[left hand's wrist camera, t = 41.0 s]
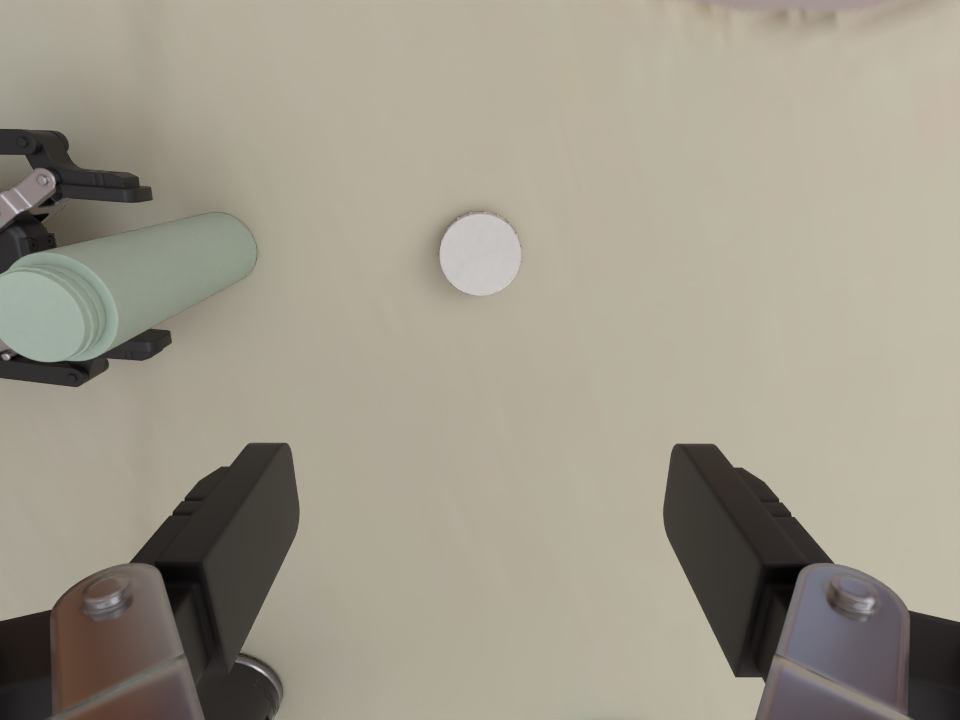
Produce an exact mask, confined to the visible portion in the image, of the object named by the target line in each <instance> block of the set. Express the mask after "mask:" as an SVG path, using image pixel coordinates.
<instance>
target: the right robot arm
mask: <svg viewBox="0 0 960 720" xmlns="http://www.w3.org/2000/svg"><path fill="white" fill-rule="evenodd" d="M68 148H69V144H68V140H67V139H66V137H65V136H64V135H63V134H62V133H60V132H58V131H42V130H22V129H0V154H4V155H26V157H27V159H28V161H29V163H30V164H31V166H32V168H33V171H32V172H31V173H30V174H29V175H27V176H26V177H25V178H24V179H23V180H22V181H20V182H19V183H18V184H17V185H16V186H14V187H13V188H11V189H9V190H6V191H3V192H1V193H0V274H2V273H4V272H5V271H7V270H9V268H10V267H11V266H12V265H13V264H14V263H15V262H16V261H17V260H19V259H20V258H22V257H24V256H26V255H29V254H33V253H37V252H41V251H46V250H50V249H54V248H56V242H55V237H54V233H48V231H47V229H46V228H45V227H44V225H43V224H44V223H45V222H47V221H48V220H49V219H50V218H52V217H53V216H54V215H55V214H56V213H58V212H59V211H60V210H61V209H63V208H64V206H65V205H64V203H65V202H66V201H67V200H68V199H70V198H74V199H87V200H100V201H113V202H126V203H136V202H143V201H150V200H153V198H152V191H151V187H148V186H140V185H139V178H138V177H137V176H135V175H133V174H131V173H127V172H115V171H102V170H89V169H82V168H80V167H78V166H76V165H75V164H74V163H73V162H72V161H71V159H70V157H69V155H68V153H67V151H68ZM171 343H172V341H171V333H170V331H168V330H157V329H148V330H146V331H144V332H142V333H141V334H139V335H137V336H135V337H133V338H131V339H129V340H128V341H126V342H124V343H122V344H120V345H118V346H116V347H114V348H113V349H111V350H109V351H107V352H105V353H103V354H101V355H100V356H98V357H95V358H93V359H89V360H85V361H67V360H64V361H58V362H41V361H36V360H32V359H29V358H27V357H24V356H22V355H20V354H19V353H17V352H15V351H14V350H12V349H11V348H10V347H8V346H7V345H6V344H5V343H4V342H3V341H2V340H1V339H0V378H5V379H13V380H22V381H30V382H38V383H47V384H55V385H63V386H71V387H78V386H80V385H82V384H84V383H85V382H87V381H89V380H91V379H92V378H94V377H96V376H97V375H99V374H101V373H102V372H104V371H106V370H107V369H108V367H109V363H108V360H107V359H106V358H111V359H126V360H140V361H143V360H146V359H149V358H151V357H153V356H154V355H156V354H157V353H159V352H160V351H162V350H163V348H165V347H166V346H168V345H169V344H171Z"/></svg>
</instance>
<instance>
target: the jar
mask: <svg viewBox="0 0 960 720" xmlns="http://www.w3.org/2000/svg"><path fill="white" fill-rule="evenodd" d="M256 258H257V249H256V244H255V241H254V238H253V236H252V234H251V233H250V231H249V230H248V228H247V227H246V226H245V225H244V224H243V223H242V222H241V221H239V220H238V219H236V218H234V217H233V216H230V215H228V214H224V213H219V212H213V213H207V214H203V215H198V216H194V217H190V218H185V219H181V220H176V221H172V222H168V223H163V224H159V225H155V226H150V227H146V228H142V229H137V230H133V231H128V232H124V233H120V234H115V235H111V236H107V237H102V238H98V239H94V240H89V241H85V242H80V243H76V244H72V245H67V246H63V247H59V248H54V249H50V250H46V251H41V252H37V253H33V254H29V255H26V256H24V257H22V258H20V259H19V260H17V261H16V262H15V263H14V264H13V265H12V266H11V267H10V268H9V270H7V271H5V272H4V273H2V274H0V339H1V340H2V341H3V342H4V343H5V344H6V345H7V346H8V347H10V348H11V349H12V350H14V351H15V352H17V353H19V354H20V355H22V356H24V357H27V358H29V359H32V360H36V361H41V362H58V361H64V360H67V361H85V360H89V359H93V358H95V357H98V356H100V355H101V354H103V353H105V352H107V351H109V350H111V349H113V348H114V347H116V346H118V345H120V344H122V343H124V342H126V341H128V340H129V339H131V338H133V337H135V336H137V335H139V334H141V333H142V332H144V331H146V330H148V329H150V328H152V327H154V326H155V325H157V324H159V323H161V322H163V321H165V320H167V319H168V318H170V317H172V316H174V315H176V314H178V313H180V312H181V311H183V310H185V309H187V308H189V307H191V306H193V305H194V304H196V303H198V302H200V301H202V300H204V299H206V298H207V297H209V296H211V295H213V294H215V293H217V292H219V291H221V290H222V289H224V288H226V287H228V286H230V285H232V284H234V283H235V282H237V281H239V280H241V279H243V278H244V277H246V276H247V275H248V274H249V273H250V272H251V271H252V269H253V267H254V265H255V262H256Z"/></svg>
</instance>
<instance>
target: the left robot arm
mask: <svg viewBox="0 0 960 720" xmlns="http://www.w3.org/2000/svg"><path fill="white" fill-rule="evenodd" d="M663 518H664V526H665V531H666V534H667V537H668V539H669V541H670V543H671V545H672V547H673V550H674V552H675V554H676V556H677V558H678V560H679V562H680V564H681V566H682V568H683V570H684V572H685V574H686V576H687V578H688V580H689V583H690V585H691V587H692V589H693V591H694V593H695V595H696V597H697V599H698V601H699V603H700V605H701V607H702V609H703V611H704V613H705V615H706V618H707V620H708V622H709V624H710V626H711V628H712V630H713V632H714V634H715V636H716V638H717V640H718V642H719V644H720V646H721V648H722V650H723V653H724V655H725V657H726V659H727V661H728V663H729V665H730V667H731V669H732V671H733V673H734V675H735V677H762V678H763V680H764V682H765V688H764V691H763V694H762V698H761V701H760V705H759V708H758V711H757V715H756V718H755V720H960V622H956V621H952V620H948V619H943V618H939V617H934V616H930V615H926V614H921V613H917V612H913V611H909V610H908V609H907V607H906V605H905V604H904V602H903V601H902V600H901V599H900V597H899V596H898V595H897V594H896V593H895V592H894V591H892V590H891V589H890V588H889V587H887V586H886V585H885V584H883V583H882V582H880V581H879V580H877V579H875V578H874V577H872V576H870V575H868V574H866V573H864V572H861V571H859V570H856V569H853V568H850V567H847V566H843V565H839V564H834V563H833V561H832V560H831V559H830V558H829V557H828V556H827V554H826V553H825V552H824V551H823V550H822V549H821V547H820V546H819V545H818V544H817V543H816V542H815V540H814V539H813V538H812V537H811V536H810V535H809V533H808V532H807V531H806V530H805V529H804V528H803V526H802V525H801V524H800V523H799V522H798V521H797V519H796V518H795V517H792V516H791V513H790V511H789V510H788V509H787V508H786V507H785V506H784V504H783V503H779V499H778V497H777V496H776V495H775V494H774V493H773V492H772V490H771V489H770V488H769V487H768V486H767V485H766V483H765V482H763V481H762V480H760V479H759V478H757V477H756V476H754V475H752V474H751V473H749V472H748V471H746V470H745V469H743V468H734V467H733V466H732V465H731V464H730V462H729V461H728V460H727V459H726V457H725V456H724V455H723V454H722V452H721V451H720V450H719V449H718V447H717V446H716V445H714V444H676V445H675V446H674V447H673V449H672V453H671V458H670V465H669V472H668V479H667V486H666V493H665V500H664V507H663ZM298 524H299V500H298V493H297V486H296V479H295V472H294V465H293V458H292V452H291V449H290V446H289V445H288V444H287V443H249V444H248V445H247V446H246V447H245V448H244V449H243V450H242V452H241V453H240V454H239V455H238V457H237V458H236V459H235V461H234V462H233V463H232V464H231V466H230V467H220V468H219V469H217V470H216V471H214V472H212V473H211V474H209V475H208V476H206V477H205V478H203V479H202V480H200V481H199V482H198V483H197V484H196V485H195V486H194V488H193V489H192V490H191V491H190V492H189V493H188V495H187V496H186V497H185V501H182V502H181V503H180V504H179V505H178V506H177V508H176V509H175V510H174V511H173V515H172V516H169V517H168V518H167V519H166V520H165V522H164V523H163V524H162V525H161V526H160V528H159V529H158V530H157V531H156V532H155V533H154V535H153V536H152V537H151V538H150V539H149V540H148V542H147V543H146V544H145V545H144V546H143V548H142V549H141V550H140V551H139V552H138V553H137V555H136V556H135V557H134V558H133V559H132V560H131V562H130V563H128V564H121V565H117V566H113V567H110V568H107V569H104V570H101V571H99V572H96V573H94V574H92V575H90V576H88V577H86V578H85V579H83V580H81V581H80V582H78V583H77V584H75V585H74V586H73V587H71V588H70V589H69V590H68V591H66V592H65V593H64V594H63V595H62V596H61V597H60V599H59V600H58V601H57V602H56V604H55V605H54V607H53V609H52V610H48V611H44V612H39V613H35V614H31V615H26V616H22V617H17V618H13V619H8V620H4V621H0V720H274V717H275V715H276V713H277V712H278V709H279V707H280V704H281V701H282V696H283V691H282V686H281V683H280V681H279V679H278V678H277V676H276V675H275V674H274V673H273V672H272V671H271V670H270V669H269V668H268V667H267V666H265V665H264V664H262V663H261V662H259V661H257V660H255V659H253V658H250V657H247V656H244V655H239V652H240V650H241V648H242V646H243V644H244V642H245V640H246V638H247V636H248V634H249V632H250V629H251V627H252V625H253V623H254V621H255V619H256V617H257V615H258V613H259V611H260V609H261V607H262V604H263V602H264V600H265V598H266V596H267V594H268V592H269V590H270V588H271V586H272V584H273V582H274V579H275V577H276V575H277V573H278V571H279V569H280V567H281V565H282V563H283V561H284V559H285V557H286V554H287V552H288V550H289V548H290V546H291V544H292V542H293V540H294V538H295V535H296V532H297V529H298Z"/></svg>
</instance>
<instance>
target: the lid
mask: <svg viewBox="0 0 960 720" xmlns="http://www.w3.org/2000/svg"><path fill="white" fill-rule="evenodd" d="M517 236H518V235H517V233H515V231H514V230H513V228H512V227H511V226H510V223H509V222H506V221H505V220H504V219H503V218H501V217H499V216H498V214H496V215H495V214H493V213H489V212H485V210H483V212H482V211H480V212H471V211H470V213H468V214H465V215H463V216H461V217H457V220H455V221H454V222H453V223H452V224H451V225H450V226H448V227H447V231H446V233H445V235H444V237H443V238H442V239H441V246H440V252H439V257H440V264H441V269H442V270H443V273H444V275H445V276H446V278H447V280H448V281H449V282H450V283H451V284H452V285H453V286H454V287H456V288H457V289H459V290H460V291H462V292H464V293H467V294H470V295H475V296H486V295H491V294H494V293H496V292H499V291H501V290H502V289H504V288H505V287H506V286H507V285H509V284H510V282H511V281H512V280H513V279H514V277H515V276H516V275H517V272H518V269H519V267H520V263H521V249H522V248H521V245H520V243H519V240H518V238H517Z"/></svg>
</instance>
